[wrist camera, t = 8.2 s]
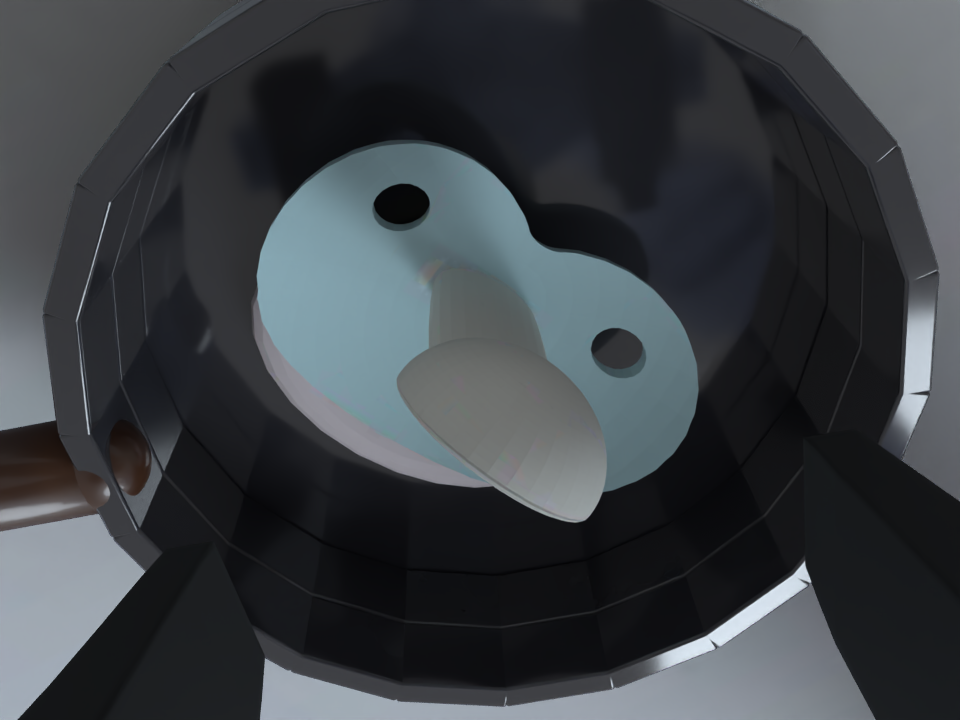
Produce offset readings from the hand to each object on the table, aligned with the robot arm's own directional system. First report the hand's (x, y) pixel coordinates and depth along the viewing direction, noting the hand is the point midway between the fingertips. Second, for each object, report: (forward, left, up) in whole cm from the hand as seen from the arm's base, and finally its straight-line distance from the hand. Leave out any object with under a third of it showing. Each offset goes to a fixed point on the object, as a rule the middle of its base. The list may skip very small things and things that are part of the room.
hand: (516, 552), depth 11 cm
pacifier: (+1, 0, -6) cm, 6 cm away
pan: (0, 0, -7) cm, 7 cm away
